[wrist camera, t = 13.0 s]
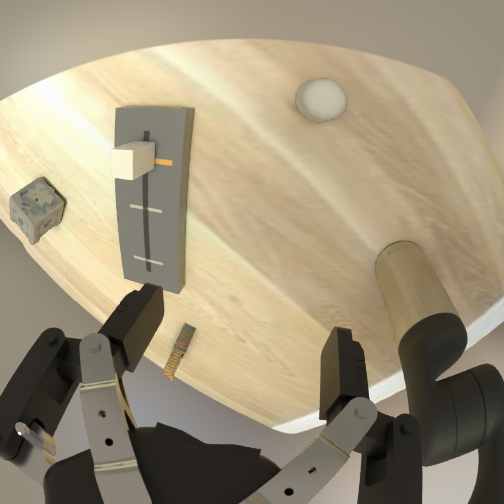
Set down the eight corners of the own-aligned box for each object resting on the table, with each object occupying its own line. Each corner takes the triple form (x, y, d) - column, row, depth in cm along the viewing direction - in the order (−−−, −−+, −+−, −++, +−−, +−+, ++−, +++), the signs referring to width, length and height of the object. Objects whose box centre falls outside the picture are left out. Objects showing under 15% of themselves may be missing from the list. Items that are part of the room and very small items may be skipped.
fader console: (184, 284, 52) (178, 294, 49) (131, 270, 53) (124, 278, 50) (194, 108, 35) (186, 109, 33) (126, 106, 36) (115, 108, 34)
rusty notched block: (185, 352, 64) (172, 383, 56) (174, 347, 64) (160, 377, 56) (198, 327, 58) (183, 361, 50) (186, 321, 58) (169, 354, 50)
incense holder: (36, 200, 49) (6, 219, 40) (43, 173, 45) (9, 191, 36) (60, 226, 51) (30, 249, 42) (69, 200, 47) (35, 222, 38)
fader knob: (154, 168, 37) (132, 180, 32) (134, 166, 38) (111, 177, 33) (155, 142, 35) (132, 150, 30) (135, 140, 36) (111, 148, 30)
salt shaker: (287, 102, 33) (279, 99, 22) (314, 73, 30) (320, 57, 19) (319, 129, 34) (329, 141, 23) (347, 101, 31) (369, 100, 20)
